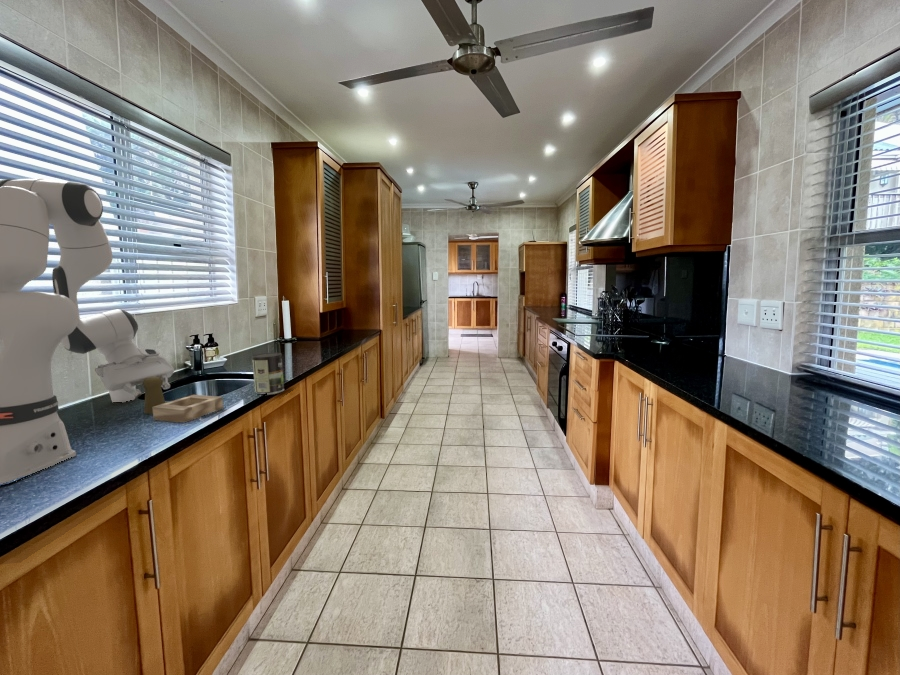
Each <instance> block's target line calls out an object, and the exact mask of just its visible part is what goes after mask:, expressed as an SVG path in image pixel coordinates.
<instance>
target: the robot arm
mask: <svg viewBox="0 0 900 675" xmlns="http://www.w3.org/2000/svg"><path fill="white" fill-rule="evenodd" d="M102 201H103V200H102V199H101V197H100V195H99V193H98V192H97V191H96V190H95V189H94V188H92V187H91V186H90V185H88V184H86V183H83V182H80V181H79V182H78V181H62V180H56V179H55V180H53V179H44V178H20V179H19V178H18V179H15V178H6V179H1V180H0V342H2V349H1V352H0V484H1V483H2V484H3V483H6V482H10V481H12V480H15V479H17V478H20V477H23V476H27V475H30V474H32V473H35V472H37V471H40V470H42V469H44V470H46V469H48V467H49V468H51V467H54V466H56V465H58V464H60V463H62V462H61V461H63V462H64V460H65V461H67V460H69V459H72V458H74V457H76V456H77V451H76V450H74V449H72V447H71V444H70V441H69V436H68V433H67V430H66V426H65V424H64V422H63V420H62V419H61V418H60V416H59V414H58V411H59V400H58V398H57V397H58V396H57V395H55V394H54V387H53V379H52V378H53V377H52V360H53V357H54V354H55V352H56V350H57V348H58V346H59V344H60V343H61V345H62V346H63V347H64V349H65V350H66V351H69V352H71V353H77V354H82V355H84V354H87V353H89V352H92V351H95V350H97V351H98V352H99V353H100V354H103V356H104V357H105V360H106V361H107V363H105V364H100V365H98V366H96V367H95V368H94V372H95V374H96V375H97V376H99V378H100V381H101V382H102V384H103V386H104V387H105V388H106V390H107V391H109V390H110V391H115V390H119V389H123V390H124V391H126V392H128V393H131V394H132V395H133V396H134V397H135V398H137V397H141V395H142V391H141V389H140V388H136V389H135V388H133V387H132V386H139V385H140V386H141V385H143V384H142V383H143V380H144V379H146V378H150V377H159V378H161V379H162V386H161V389H163V390H168V389H170V388H171V383H169V382H168V381H169V379H170V378H171V376H173V374H174V372H175V368H174V367H173V366H172V364H171V363H170V362H169V360H167V358H165V357H164V356H162V355H160V351H159V350H157V349H154V348H153V349H152V348H145V347H138V345H135V344H134V343H133V342H132V340H133V339H134V338H135V336H136V334H137V332H138V331H139V324H138V322H137V320H136V319H135V318H134V316H133V315H132V314H131V313H130V312H128V311H126V310H124V309H121V308H117V309H111V310H107V311H104V312H100V313H98V314H94V315H89V316H86V317H83V318H80V316H81V315H80V309H79V303H78V293H79V290H80V289H81V288H82V287H83V286H84V285H85V284H86V283H88V282H90V281H91V280H93V279H95V278H96V277H99V275H102V274H103V273H104V272H105V271H107V269H109V267H110V266H111V264H112V262H113V259H114V258H113V250H112V246H111V243H110V241H109V238H108V236H107V232H106V230H105V228H104V226H103V224H102V222H101V220H100V219H101V218H102V215H103V212H104V206H103V202H102ZM50 226H53V230H54V231H53V232H54V235H55V239H56V241H57V245H58V247H59V251H60V257H59V258H60V259H59V262H58V264H57V265H55V267H53V269H52V274H51V276H52V277H51V278H52V279H51V280H52V289H53V293H52V292H45V291H37V290H35V291H22V289H23V288H24V287H25V286H26V285H27V284H28V283H29V282H31V281H32V280H35V279H38V278H39V277H41V276H42V275H44V273H45V271H46V270H47V266H48V254H49V242H50ZM71 457H72V458H71ZM68 458H69V459H68ZM66 459H67V460H66ZM59 462H60V463H59ZM57 463H58V464H57ZM55 464H56V465H55ZM50 466H51V467H50ZM45 468H46V469H45ZM42 471H43V470H42ZM40 472H41V471H40ZM37 473H38V472H37ZM35 474H36V473H35ZM30 476H31V475H30Z"/></svg>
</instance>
